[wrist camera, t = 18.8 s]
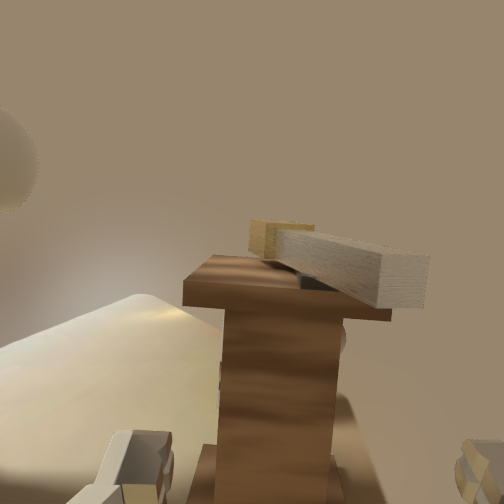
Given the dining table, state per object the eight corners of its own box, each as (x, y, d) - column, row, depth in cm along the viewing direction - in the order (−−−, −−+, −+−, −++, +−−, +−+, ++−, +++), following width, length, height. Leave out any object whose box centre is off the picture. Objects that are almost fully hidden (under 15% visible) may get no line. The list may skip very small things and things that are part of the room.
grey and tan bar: (438, 307, 23) (445, 246, 23) (359, 308, 22) (366, 243, 21) (290, 252, 46) (293, 221, 46) (248, 250, 45) (250, 219, 44)
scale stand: (361, 591, 34) (394, 282, 30) (170, 571, 34) (184, 267, 31) (333, 466, 49) (352, 255, 46) (202, 455, 50) (213, 246, 47)
